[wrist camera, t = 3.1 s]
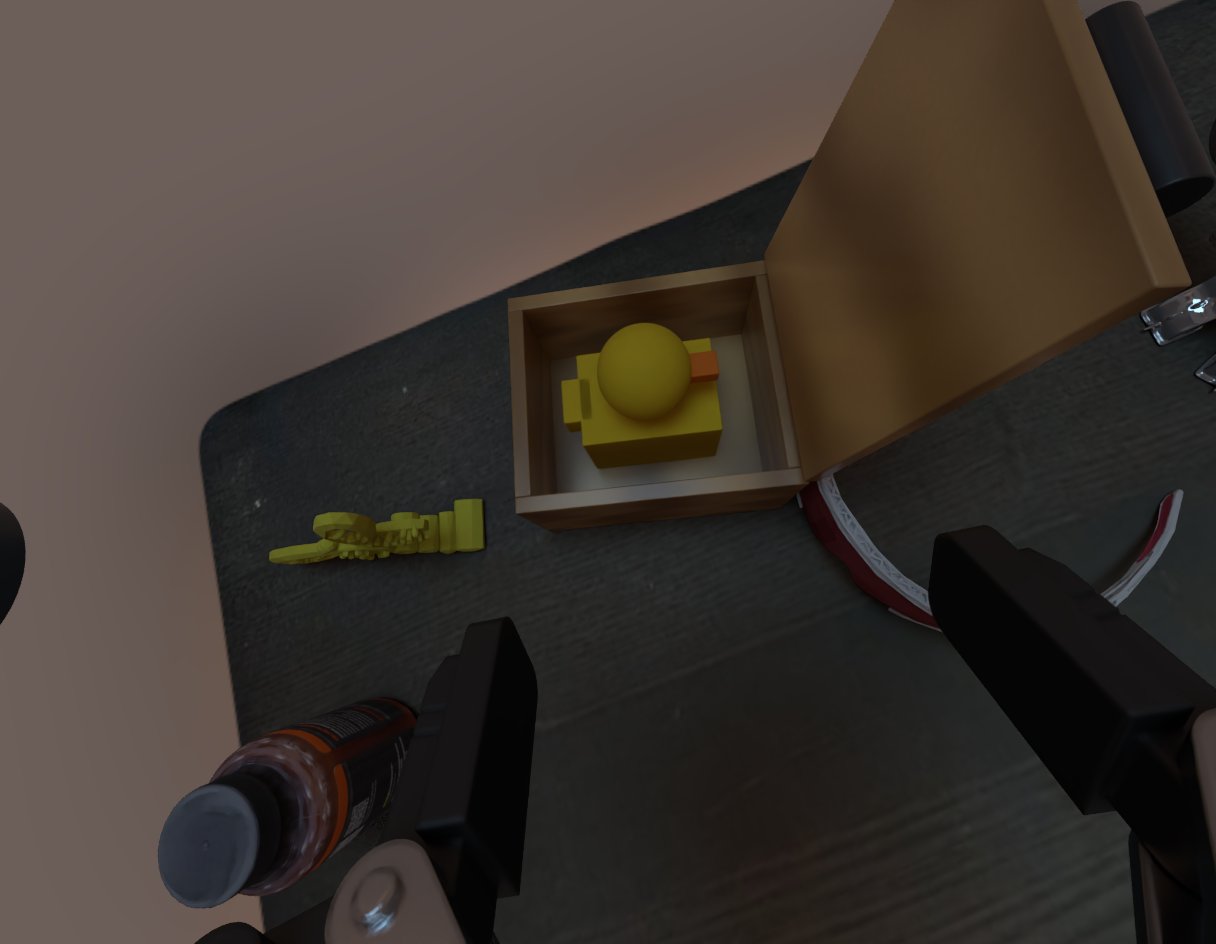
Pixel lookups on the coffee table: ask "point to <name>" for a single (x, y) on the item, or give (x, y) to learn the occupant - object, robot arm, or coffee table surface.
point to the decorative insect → (391, 535)
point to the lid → (976, 213)
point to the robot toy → (1187, 307)
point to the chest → (726, 483)
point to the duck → (645, 398)
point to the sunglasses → (908, 596)
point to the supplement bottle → (285, 804)
